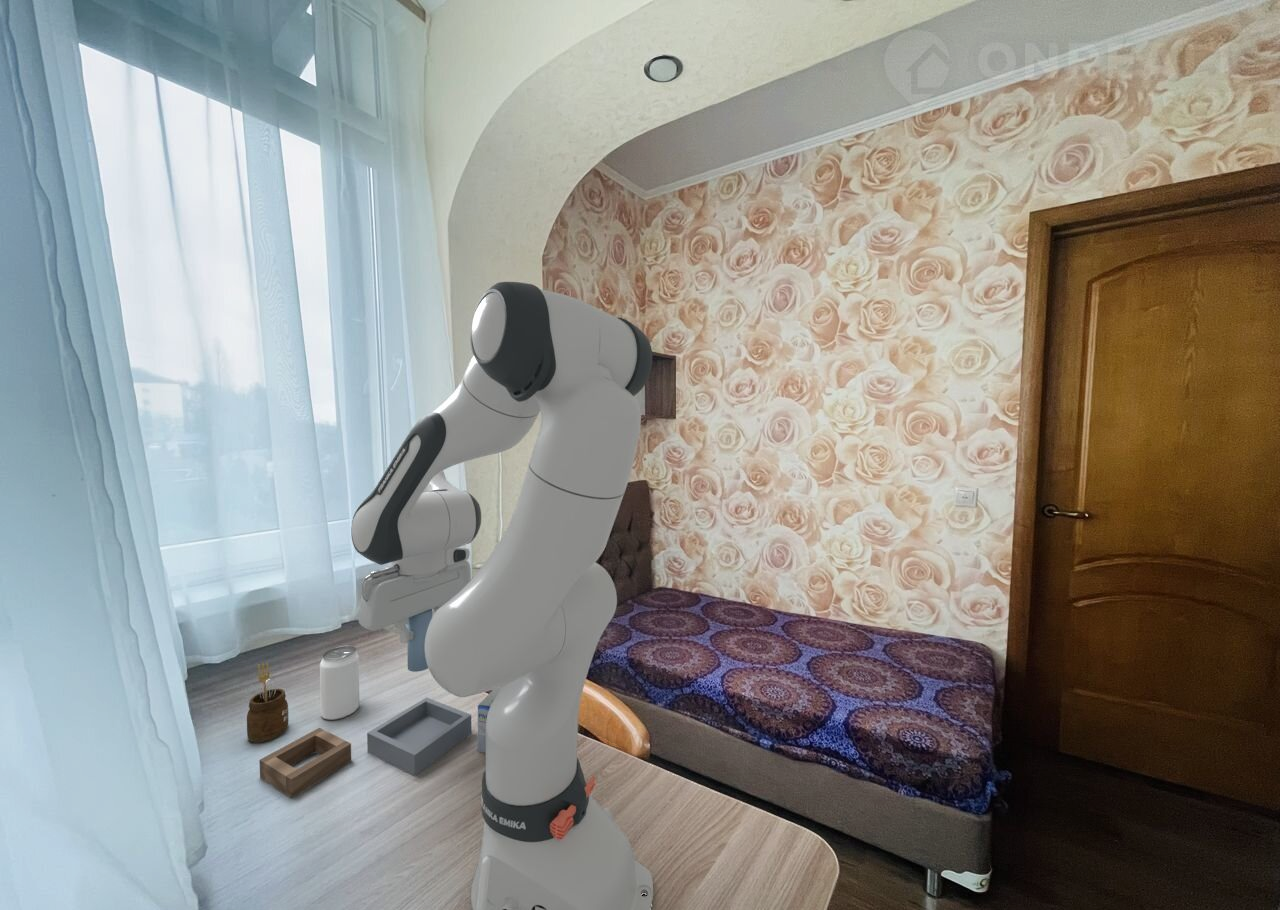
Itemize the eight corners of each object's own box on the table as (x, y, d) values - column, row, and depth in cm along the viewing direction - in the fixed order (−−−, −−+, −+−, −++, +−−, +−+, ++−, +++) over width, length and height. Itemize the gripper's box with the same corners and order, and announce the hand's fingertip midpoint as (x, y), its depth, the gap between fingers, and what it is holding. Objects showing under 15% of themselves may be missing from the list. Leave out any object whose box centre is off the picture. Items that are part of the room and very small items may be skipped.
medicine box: (499, 724, 88) (499, 680, 87) (521, 728, 87) (521, 683, 86) (476, 752, 80) (476, 704, 80) (500, 756, 79) (500, 708, 79)
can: (340, 723, 87) (339, 662, 87) (312, 718, 89) (311, 658, 88) (367, 703, 94) (366, 646, 93) (340, 699, 95) (339, 643, 94)
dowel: (437, 663, 83) (437, 609, 82) (418, 673, 79) (417, 617, 79) (422, 658, 84) (421, 605, 84) (402, 668, 81) (402, 612, 80)
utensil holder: (250, 748, 80) (248, 682, 79) (244, 732, 84) (242, 669, 84) (292, 732, 84) (290, 669, 84) (284, 718, 89) (282, 657, 88)
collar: (351, 760, 78) (350, 743, 77) (291, 798, 70) (291, 779, 69) (319, 743, 82) (319, 727, 81) (259, 777, 73) (259, 759, 73)
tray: (471, 732, 85) (471, 714, 85) (414, 775, 74) (414, 755, 74) (426, 714, 90) (426, 697, 90) (367, 752, 80) (367, 732, 79)
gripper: (374, 577, 70) (375, 665, 71) (476, 548, 88) (476, 618, 89) (349, 571, 73) (350, 656, 73) (452, 544, 91) (453, 612, 92)
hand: (420, 635), depth 81 cm, fingers closed on dowel, 4 cm apart
